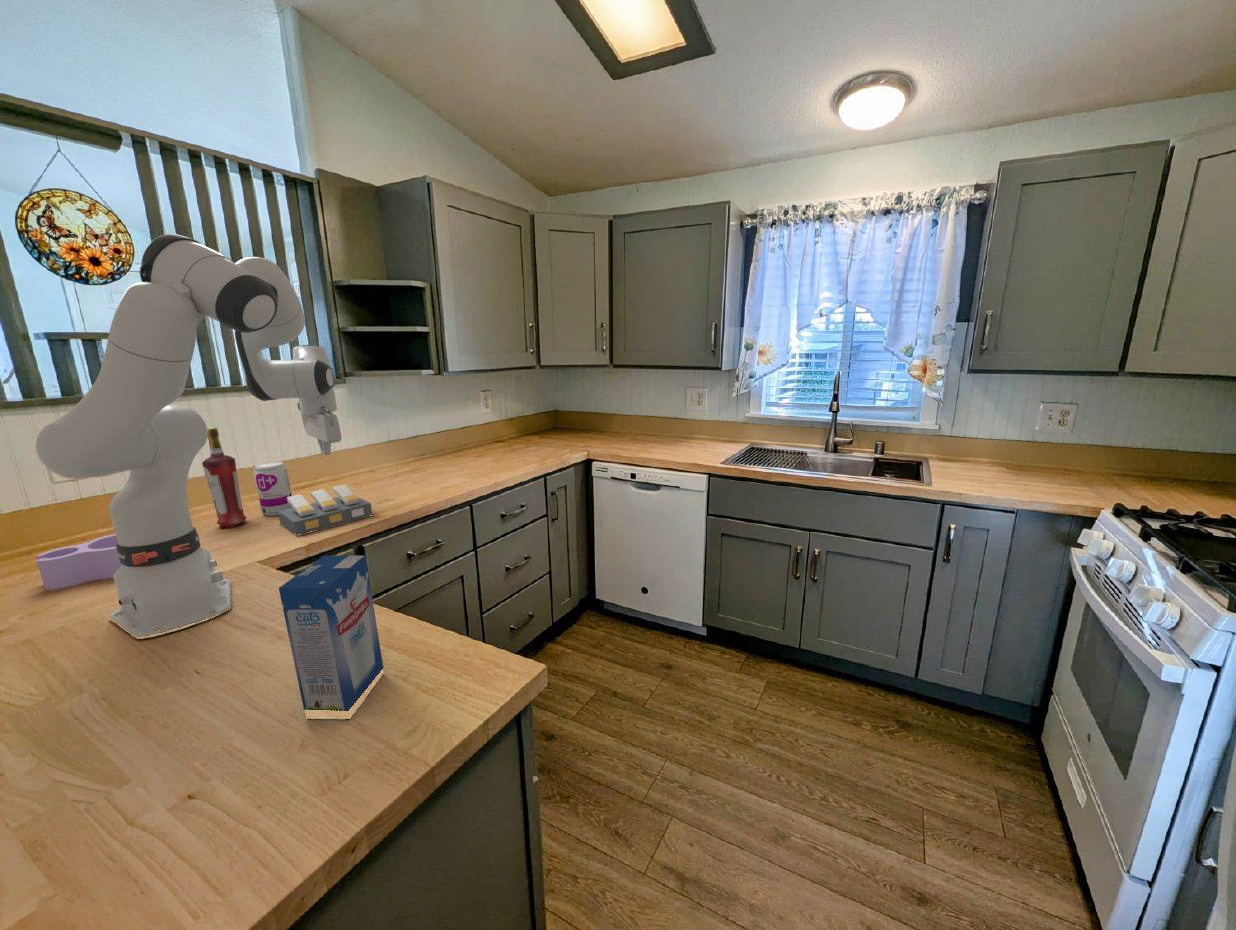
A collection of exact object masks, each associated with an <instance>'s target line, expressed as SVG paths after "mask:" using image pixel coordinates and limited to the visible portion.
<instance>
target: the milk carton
mask: <svg viewBox="0 0 1236 930" xmlns="http://www.w3.org/2000/svg"><path fill="white" fill-rule="evenodd" d="M366 556H367V555H365V554H362V555H361V554H360V555H359V554H358V555H355V554H354V555H349V554H348V555H323V556H321V557H320V558H319V559H317V560H316V561H314V562H313V563H311V564H310V565H309V566H307V567H306V568H304V569H303V570H301V571H300V572H299V573H297V574H296V575H295V576H294V577H292V578H290V579H289V580H288V581H287V582H285V583H283V584H282V585H281V586H280V587H278V588H277V589H278V592H279V596H280V601H281V607H282V611H283V616H284V619H285V621H284V622H285V624H286V629H287V634H288V635H287V637H288V640H289V645H290V650H291V655H292V659H293V664H294V668H295V674H296V678H297V683H298V687H299V689H298V690H299V692H300V697H301V702H302V706H303V707H302V708H303V711H304V710H305V709H306V710H331V711H332V710H334V711H335V710H336V711H338V710H339V711H349V709H350V708H351V707H352V706H353V705H354V703H356V701H357V700H358V698H360V696H361V695H362V693H364V691H365V690H366V689H367V688H368V686H369V685H370V684H371V683H372V681H373V680H374V679H375V677H376V676H377V675H378V674H379V673H380V671H381V670H382V669H384V664H383V657H382V651H381V645H380V638H379V633H378V632H379V631H378V624H377V619H376V613H375V606H374V599H373V593H372V587H371V581H370V580H371V579H370V576H369V575H370V574H369V570H368V569H369V568H368V563H367V557H366Z"/></svg>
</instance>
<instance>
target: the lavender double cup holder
mask: <svg viewBox="0 0 1236 930" xmlns="http://www.w3.org/2000/svg"><path fill="white" fill-rule="evenodd" d="M117 543H118V541H117V537H116V534H115V533H114V534H109V535H105V536H101V537H98V538H95V539H92V540H90V541H87V542H83V543H80V544H75V545H70V546H69V545H68V546H64V547H63V546H62V547H59V548H54V549H51V550H48V551H45V552H42V553H40V554H37V555H36V558H37V559H36V560H35V561H36V564H37V568H38V572H39V574H40V577H41V579H42V582H43V585H44V589H45V591H56V590H62V589H66V588H65V587H67V588H70V587H69V586H71V587H75V586H78V585H80V583H81V584H84V583H87V582H86V581H88V582H92V581H96V580H97V581H98V580H99V579H101V580H107V579H106V578H111V579H114V578H113V575H114V574H115V573H116V572H117V571H118V570H119V569H120V567H121V565H122V564H121V563H120V560H119V557H118V555H117V552H116V551H117V548H116V544H117ZM83 582H84V583H83ZM61 588H62V589H61Z"/></svg>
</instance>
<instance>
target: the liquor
mask: <svg viewBox="0 0 1236 930" xmlns="http://www.w3.org/2000/svg"><path fill="white" fill-rule="evenodd" d="M207 430H208V436H207V440H208V444H209V452H210V453H209V454H210V456H209V457H207V458H206V459H204V460H203V461H202V462H201V465H202V469H203V471H204V475H205V479H206V482H207V485H208V488H209V491H210V495H211V498H212V501H213V506H214V508H215V512H216V516H217V521H216V524H217V525H219V526H221V527H222V528H226V527H227V528H234V527H233V526H235V527H238V526H241V525H242V524H243V523H244V522H245V521H246V520H247V518H248V517H247V516H246V515H245V513H244V507H243V502H242V497H241V492H240V490H241V489H240V484H239V475H238V470H237V465H236V458H234V457H232V456H231V455H226V454H224V450H223V448H222V445H221V442H220V439H219V438H220V437H219V436H220V435H219V428H218V427H207ZM237 525H238V526H237Z"/></svg>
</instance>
